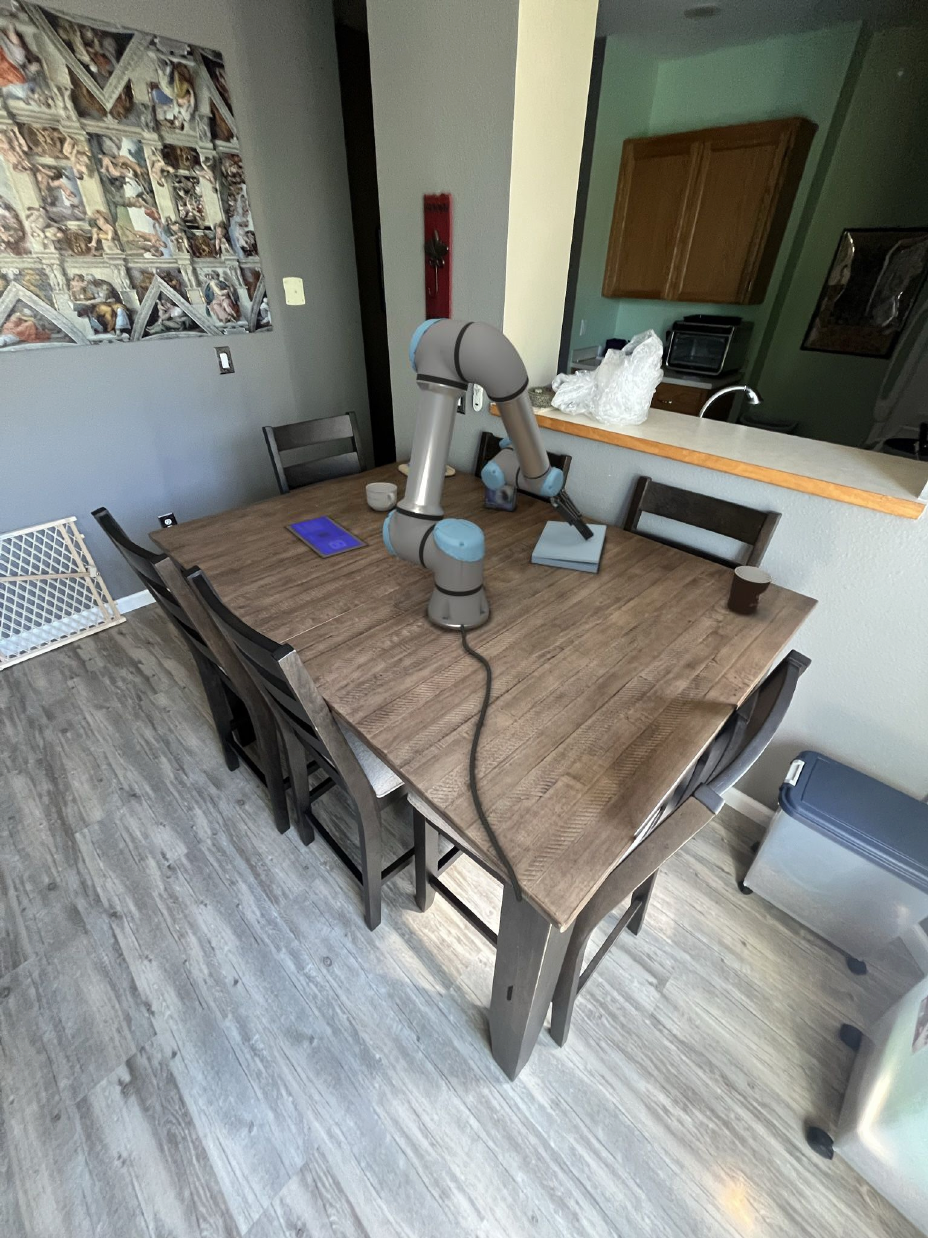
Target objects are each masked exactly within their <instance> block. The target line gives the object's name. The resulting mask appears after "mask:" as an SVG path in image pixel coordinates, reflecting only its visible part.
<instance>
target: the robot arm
mask: <svg viewBox="0 0 928 1238" xmlns="http://www.w3.org/2000/svg"><path fill="white" fill-rule="evenodd" d="M408 356H409V361H410V362H411V364H410V365H411V368H412V369H413V371H414V372H415V373H416V380H415V383H416V384H417V386H418V388H419V389H420V397H419V403H418V405H419V406H418V410H417V417H416V421H415V422H416V423H415V429H414V435H413V442H412V447H411V453H410V460H409V462H410V466H409V472H408V476H407V477H406V478H407V479H406V486H405V491H404V492H405V493H404V497H403V498H402V499H401V500H400V501H398V502H396V508H395V509H393V510H392V511H390V512H389V513H388V517H386V518H385V520H384V522H383V525H382V539H383V544H384V546H385V548H386V549H387V550H388V552H389V553H390V554H391V555H393V556H395V557H397V558H398V559H400V560H402V561H405V562H409V563H411V564H414V565H416V566H419V567H421V568H423V569H426V570H429V571H430V572H433V573H434V587H433V591H432V593H431V596H430V599H429V601H428V606H427V617H428V619H429V621H430V622H431V623H432V624H433V625H435V626H436V627H438V628H440V629H444V630H446V631H447V630H448V631H455V632H461V640H462V645H463V648H464V649H465V650H466V651H467V652H468V653H469V654H471V655H472V656H474V657H476V658H477V659H478V660H480V661H481V662H482V663H483V664H484V666H485V669H486V676H487V677H486V686H485V687H486V688H485V695H484V700H483V704H482V707H481V711H480V715H479V717H478V721H477V724H476V728H475V731H474V735H473V740H472V745H471V748H470V749H471V750H470V755H469V781H470V782H469V783H470V790H471V794H472V795H471V796H472V799H473V802H474V806H475V809H476V812H477V814H478V817H479V819H480V821H481V823H482V826H483V827H484V829H485V832H486V833H487V835H488V838H489V840H490V841H491V844H492V846H493V848H494V850H495V852H496V854H497V855H498V858H499V859H500V861H501V863H502V864H503V867H504V868H505V870H506V872H507V874H508V876H509V879H510V881H511V885H512V888H513V890H514V895H515V900H516V901H517V903H521V902H522V901H523V896H522V891H521V888H520V884H519V880H518V877H517V876H516V873H515V870H514V869H513V866H512V865H511V863H510V861H509V860H508V858H507V856H506V854H505V853H504V852H503V849H502V847H501V846H500V844H499V842H498V839H497V838H496V835H495V834H494V832H493V830H492V827H491V826H490V824H489V822H488V819H487V818H486V816H485V813H484V811H483V809H482V804H481V802H480V799H479V796H478V795H479V794H478V791H477V786H476V778H475V760H476V752H477V746H478V740H479V736H480V732H481V728H482V725H483V722H484V719H485V715H486V711H487V706H488V704H489V699H490V693H491V686H492V685H491V682H492V669H491V666H490V664H489V662H488V661H487V660H486V659H485V658H484V657H483V656H482V655H481V654H479V653H478V652H477V651H476V652H475V650H473V649H472V648H471V647H469V645H468V643H467V637H466V631H470V630H474V629H477V628H479V627H481V626H483V625H484V624H485V623H486V622H487V621H488V619H489V616H490V606H489V602H488V599H487V596H486V593H485V590H484V569H485V554H486V545H485V535H484V532H483V530H482V529H481V528H480V527H479V526H478V525H477V524H475V523H474V522H471V521H469V520H466V519H463V518H459V519H457V518H453V517H452V518H444V517H445V511H444V510H443V508H442V507H441V500H442V495H443V494H442V493H443V488H444V482H445V477H446V476H445V472H446V467H447V465H448V461H449V455H450V449H451V445H452V440H453V435H454V428H455V422H456V418H457V412H458V407H459V401H460V400H461V398H462V397H465V396H466V395H467V394H468V391H469V384H473V385H476V386H479V387H481V388H482V389H483V390H484V391H485V395H486V397H487V398H488V400H489V401H490V402H492V403H494V404H495V406H496V409H497V412H498V414H499V416H500V419H501V422H502V424H503V427H504V430H505V432H506V436H505V437H504V438H503V439H501V440H500V441H499V443H498V444H499V447H500V449H501V450H500V451H499V452H498V453H497V454H496V455H495V456H494V457H493V458H492V459H490V460H489V461H488V462H487V464H485V466H484V467H483V468H482V469H481V472H480V476H481V481H482V482H483V484H484V485H485V487H486V486H487V487H488V488H489V489H491V490H500V489H501V488H503V487H504V486H505V485H508V486H511V487H515V488H517V490H518V489H519V490H523V491H527V492H530V493H534V494H536V495H540V496H545V497H547V499H548V501H549V502H550V503H549V507H550V508H551V509H553V510H554V511H555V512H556V513H557V514H558V515H559V516H560V517H561V518H562V519H563V520H564V522H567V523H568V524H569V525H570V526H572V525H574V526H575V528H576V529H577V530H578V531H579V533H580V534H581V535H582V536H583V538H584V539H585V540H588V539H590V538H591V537H593V536H594V533H593V532H592V531H591V530H590V528H589V527H588V526H587V525H586V524H587V523H586V521H584V519H583V518H582V517H583V513H581V511H580V510H579V508H578V507H577V506H576V504H575V503H574V501H573V500H572V498H571V497H570V495H569V494H568V492H567V490H566V488H565V487H564V486H563V484H564V472H563V470H561V469H560V468H556V466H551V463H550V460H549V456H548V452H547V450H546V447H545V442H544V440H543V437H542V434H541V430H540V428H539V425H538V420H537V418H536V414H535V410H534V408H533V405H532V401H531V398H530V394H529V391H528V387H529V384H530V378H529V375H528V370H527V367H526V366H525V363H524V361H523V359H522V357H521V355H520V354H519V352H518V350H517V349H516V347H515V346H514V344H513V343H512V342H511V340H510V339H509V338H508V337H507V336H506V335H505V334H504V332H503V331H501V330H499V329H498V328H497V327H496V326H494V325H493V324H490V323H487V322H483V321H470V320H462V319H461V320H460V319H455V318H454V319H452V318H446V317H443V318H431V319H427V320H425V321H423V322H422V323H421V324H420V325H419V326H418V327H417V329H415V331H414V332H413V335H412V337H411V340H410V344H409V351H408ZM513 990H514V984H513V985H509V986H507V990H506V991H507V992H506V1000H507V1001H508V1002H511V1000H512V999H513V992H514V991H513Z"/></svg>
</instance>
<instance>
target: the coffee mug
mask: <svg viewBox="0 0 928 1238" xmlns="http://www.w3.org/2000/svg"><path fill="white" fill-rule="evenodd" d="M772 581H773V576H772V574H770V572H768V571H766V570H764V569H762V568H759V567H756V566H751V565H750V566H749V565H741V566H737V567H736V568H735V569H734V571H733V576H732V581H731V587H730V591H729V596H728V600H727V608H728V609H729V610H730V611H732V612H734V613H736V614H738V615H745V616H748V615H752V614H754V613H755V611H756V609H757V607H758V606H759V604H760V602H761V601H762V600H763V599H762V598H763V597H764V595H765V593H766V591H768V588H769V586H770V585H771V582H772Z"/></svg>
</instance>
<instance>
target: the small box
mask: <svg viewBox="0 0 928 1238" xmlns="http://www.w3.org/2000/svg"><path fill="white" fill-rule="evenodd" d="M517 492H518V488H515V487H511V486H508V485H505V486H504V487H503V488H501V489H500V490H491V489H489V488H488V487H487V486H486V485H485V492H484V494H485V495H484V508H487V509H492V510H493V509H494V510H501V511H508V512H513V511H514V509H515V508H516V506H517Z"/></svg>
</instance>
